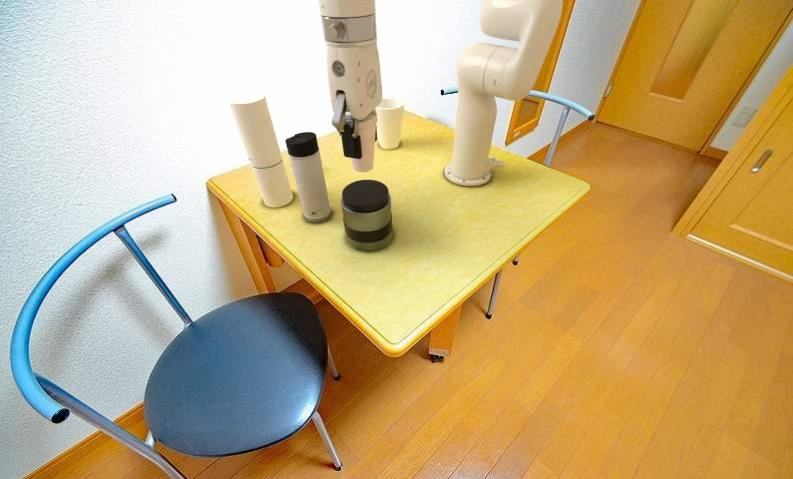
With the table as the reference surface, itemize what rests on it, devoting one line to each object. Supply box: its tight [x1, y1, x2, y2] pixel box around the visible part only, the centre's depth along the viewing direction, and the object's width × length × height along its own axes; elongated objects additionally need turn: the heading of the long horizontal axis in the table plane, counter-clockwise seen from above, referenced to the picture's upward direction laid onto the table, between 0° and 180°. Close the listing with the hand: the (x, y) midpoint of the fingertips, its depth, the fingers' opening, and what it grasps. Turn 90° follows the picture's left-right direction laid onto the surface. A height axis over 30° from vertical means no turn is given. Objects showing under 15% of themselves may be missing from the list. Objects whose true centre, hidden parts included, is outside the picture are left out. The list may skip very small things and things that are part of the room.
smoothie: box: [345, 111, 378, 173], centre depth 55 cm, size 6×6×14 cm
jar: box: [340, 179, 393, 252], centre depth 68 cm, size 10×10×12 cm
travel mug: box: [285, 131, 332, 224], centre depth 71 cm, size 6×7×20 cm
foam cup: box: [376, 97, 405, 150], centre depth 100 cm, size 10×9×13 cm
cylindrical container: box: [227, 91, 294, 208], centre depth 74 cm, size 7×7×25 cm
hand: (361, 147), depth 58 cm, fingers closed on smoothie, 6 cm apart
